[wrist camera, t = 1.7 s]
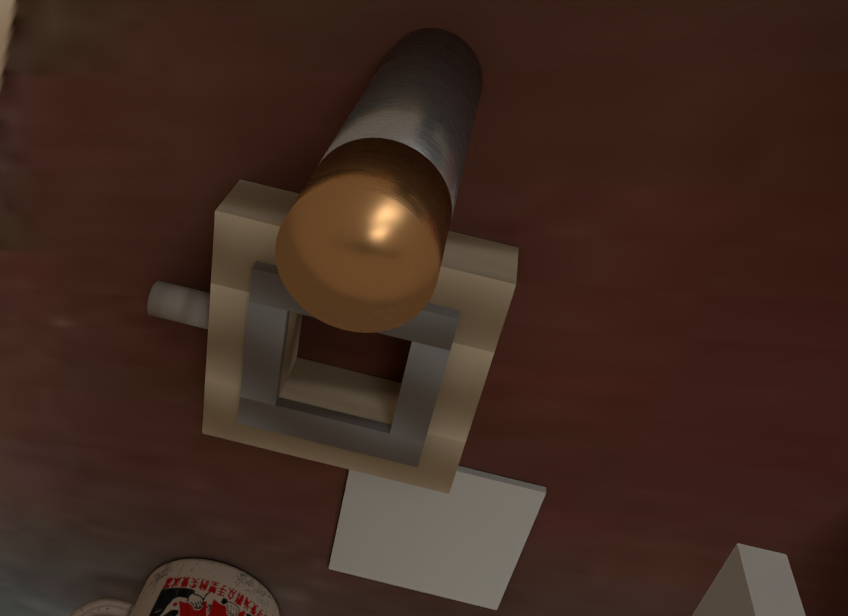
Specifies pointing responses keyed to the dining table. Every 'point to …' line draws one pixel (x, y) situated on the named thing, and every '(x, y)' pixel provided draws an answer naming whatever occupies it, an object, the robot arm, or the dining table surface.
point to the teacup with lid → (191, 593)
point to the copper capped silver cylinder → (385, 190)
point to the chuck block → (332, 386)
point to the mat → (437, 533)
